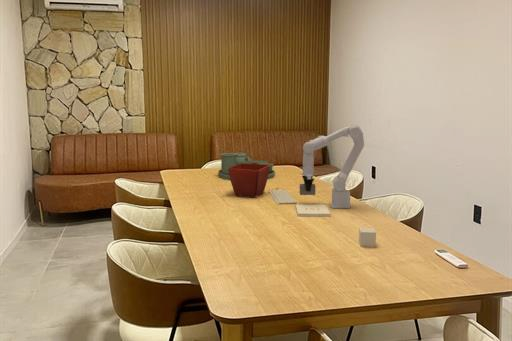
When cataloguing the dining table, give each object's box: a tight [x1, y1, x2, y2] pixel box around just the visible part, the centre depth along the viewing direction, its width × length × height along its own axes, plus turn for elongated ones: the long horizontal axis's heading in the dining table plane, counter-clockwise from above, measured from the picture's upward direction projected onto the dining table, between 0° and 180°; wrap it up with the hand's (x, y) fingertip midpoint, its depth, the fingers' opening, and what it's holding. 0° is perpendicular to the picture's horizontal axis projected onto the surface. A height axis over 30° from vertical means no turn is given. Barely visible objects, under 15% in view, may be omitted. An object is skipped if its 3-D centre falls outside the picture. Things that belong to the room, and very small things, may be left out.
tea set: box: [217, 151, 276, 181], centre depth 343 cm, size 40×40×16 cm
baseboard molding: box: [267, 187, 297, 206], centre depth 279 cm, size 31×3×12 cm
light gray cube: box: [358, 227, 377, 248], centre depth 199 cm, size 6×6×6 cm
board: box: [294, 204, 332, 218], centre depth 249 cm, size 16×18×2 cm
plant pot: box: [228, 163, 270, 198], centre depth 285 cm, size 19×19×17 cm
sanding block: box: [299, 183, 316, 196], centre depth 261 cm, size 8×5×5 cm, turn 89°
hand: (307, 190), depth 261 cm, fingers closed on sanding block, 5 cm apart
